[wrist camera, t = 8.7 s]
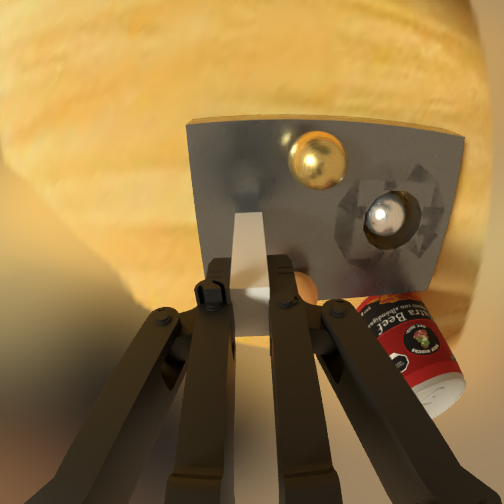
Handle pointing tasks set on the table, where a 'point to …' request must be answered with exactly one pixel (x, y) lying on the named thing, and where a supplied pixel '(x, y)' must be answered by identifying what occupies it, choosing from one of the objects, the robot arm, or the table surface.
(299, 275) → the orange ball
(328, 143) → the brass ball
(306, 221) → the bearing plate
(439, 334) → the canned food
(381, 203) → the steel ball
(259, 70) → the table surface
